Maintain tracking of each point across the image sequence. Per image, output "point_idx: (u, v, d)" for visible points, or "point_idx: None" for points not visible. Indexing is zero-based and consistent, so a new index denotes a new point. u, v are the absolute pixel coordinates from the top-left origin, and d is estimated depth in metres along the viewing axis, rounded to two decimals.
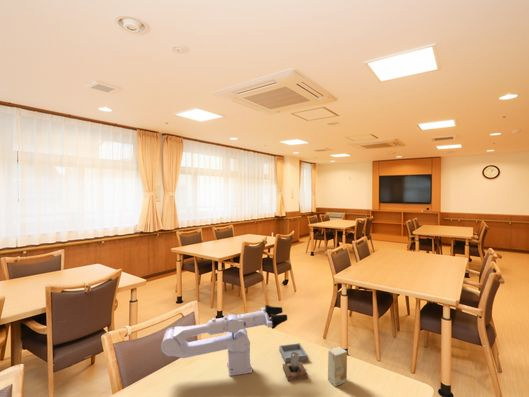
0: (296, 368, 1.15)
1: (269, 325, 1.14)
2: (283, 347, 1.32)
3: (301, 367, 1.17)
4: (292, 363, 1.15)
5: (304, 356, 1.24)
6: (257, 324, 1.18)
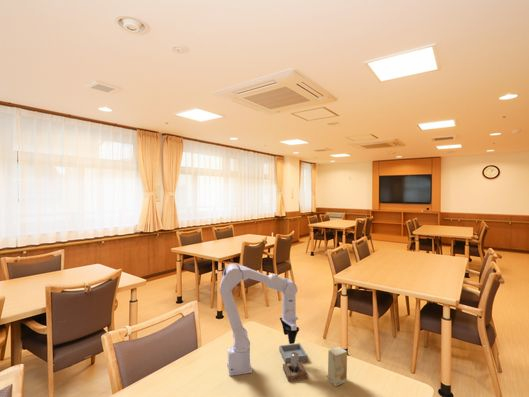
0: (296, 368, 1.15)
1: (293, 327, 1.16)
2: (283, 347, 1.32)
3: (301, 367, 1.17)
4: (292, 363, 1.15)
5: (304, 356, 1.24)
6: (287, 313, 1.20)
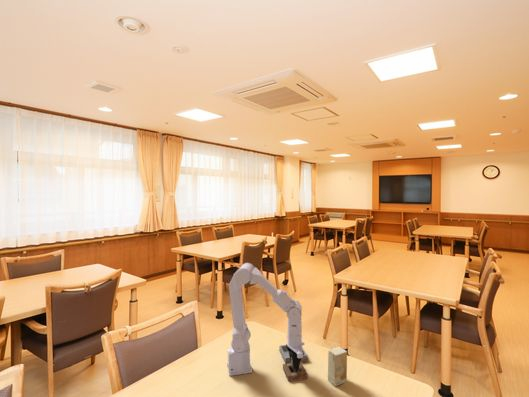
0: None
1: (299, 355, 1.09)
2: (283, 347, 1.32)
3: (301, 367, 1.17)
4: (292, 363, 1.15)
5: (304, 356, 1.24)
6: (293, 338, 1.13)
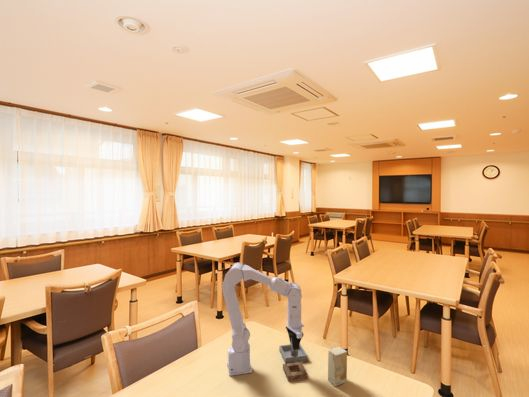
0: (296, 349, 1.16)
1: (299, 335, 1.10)
2: (283, 347, 1.32)
3: (301, 367, 1.17)
4: None
5: (304, 356, 1.24)
6: (293, 319, 1.14)
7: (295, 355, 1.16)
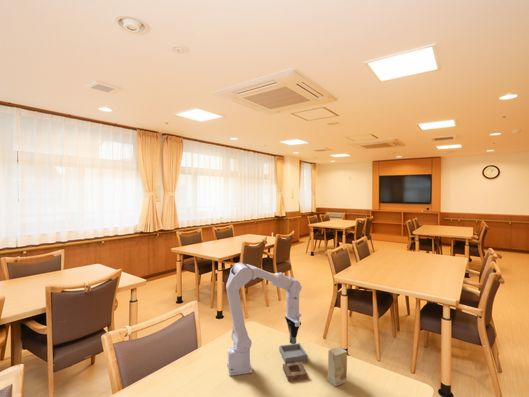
0: (294, 337, 1.27)
1: (297, 323, 1.21)
2: (283, 347, 1.32)
3: (301, 367, 1.17)
4: (290, 332, 1.27)
5: (304, 356, 1.24)
6: (291, 309, 1.25)
7: (293, 342, 1.27)
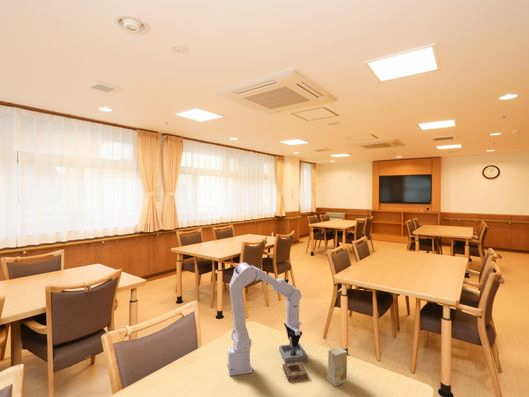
0: (294, 349, 1.27)
1: (297, 332, 1.21)
2: (283, 347, 1.32)
3: (301, 367, 1.17)
4: (290, 345, 1.27)
5: (304, 356, 1.24)
6: (291, 318, 1.25)
7: (293, 355, 1.27)
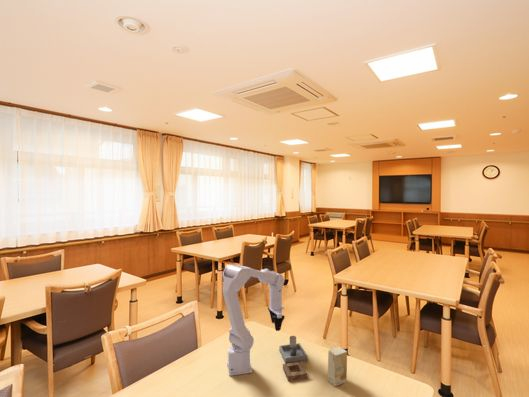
0: (294, 349, 1.27)
1: (279, 315, 1.27)
2: (283, 347, 1.32)
3: (301, 367, 1.17)
4: (290, 345, 1.27)
5: (304, 356, 1.24)
6: (274, 302, 1.32)
7: (293, 355, 1.27)
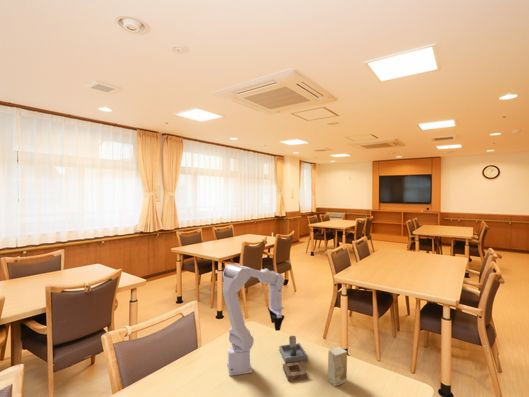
0: (294, 349, 1.27)
1: (279, 315, 1.27)
2: (283, 347, 1.32)
3: (301, 367, 1.17)
4: (290, 345, 1.27)
5: (304, 356, 1.24)
6: (274, 302, 1.32)
7: (294, 355, 1.27)
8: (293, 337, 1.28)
